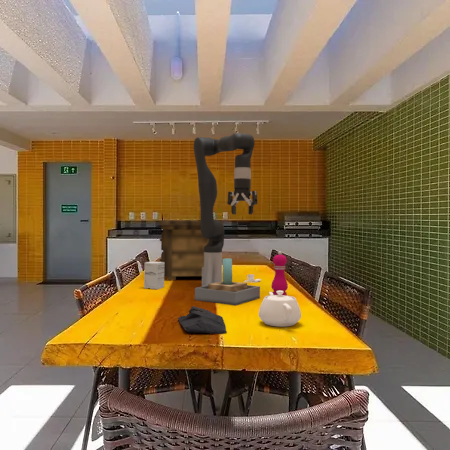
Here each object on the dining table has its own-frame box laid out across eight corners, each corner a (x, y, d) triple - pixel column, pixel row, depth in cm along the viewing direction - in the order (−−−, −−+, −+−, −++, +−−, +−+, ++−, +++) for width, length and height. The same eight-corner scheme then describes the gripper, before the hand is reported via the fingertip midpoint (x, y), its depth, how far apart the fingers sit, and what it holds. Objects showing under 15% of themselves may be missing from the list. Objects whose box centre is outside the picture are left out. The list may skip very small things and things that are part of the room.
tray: (194, 299, 185) (194, 287, 184) (221, 293, 201) (221, 282, 201) (235, 305, 174) (235, 292, 174) (259, 298, 191) (259, 286, 190)
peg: (221, 292, 187) (220, 259, 186) (226, 290, 190) (225, 258, 190) (229, 292, 185) (228, 259, 184) (234, 291, 188) (233, 258, 188)
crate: (222, 281, 242) (223, 221, 241) (158, 281, 238) (158, 220, 238) (217, 273, 277) (217, 221, 276) (160, 273, 273) (161, 220, 272)
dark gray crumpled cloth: (176, 336, 129) (176, 320, 129) (178, 319, 151) (178, 305, 150) (229, 335, 130) (229, 319, 130) (223, 319, 152) (223, 305, 152)
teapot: (311, 330, 135) (311, 295, 135) (267, 332, 133) (268, 296, 133) (288, 315, 157) (288, 285, 157) (250, 316, 154) (251, 285, 154)
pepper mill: (289, 295, 197) (290, 250, 197) (284, 298, 191) (285, 251, 190) (274, 294, 200) (274, 250, 200) (269, 296, 194) (269, 251, 193)
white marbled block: (143, 288, 213) (143, 262, 213) (151, 286, 220) (151, 261, 220) (156, 289, 210) (157, 263, 210) (164, 287, 217) (164, 261, 217)
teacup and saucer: (262, 282, 241) (262, 274, 241) (253, 283, 235) (253, 276, 235) (250, 280, 247) (250, 273, 247) (241, 282, 242) (241, 274, 241)
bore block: (208, 297, 186) (208, 284, 186) (223, 293, 196) (223, 280, 196) (232, 300, 179) (232, 286, 179) (247, 296, 189) (247, 283, 189)
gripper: (260, 178, 198) (260, 214, 198) (233, 179, 205) (233, 214, 205) (252, 176, 191) (251, 214, 191) (224, 178, 199) (224, 214, 199)
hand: (242, 214), depth 198 cm, fingers open, 8 cm apart
